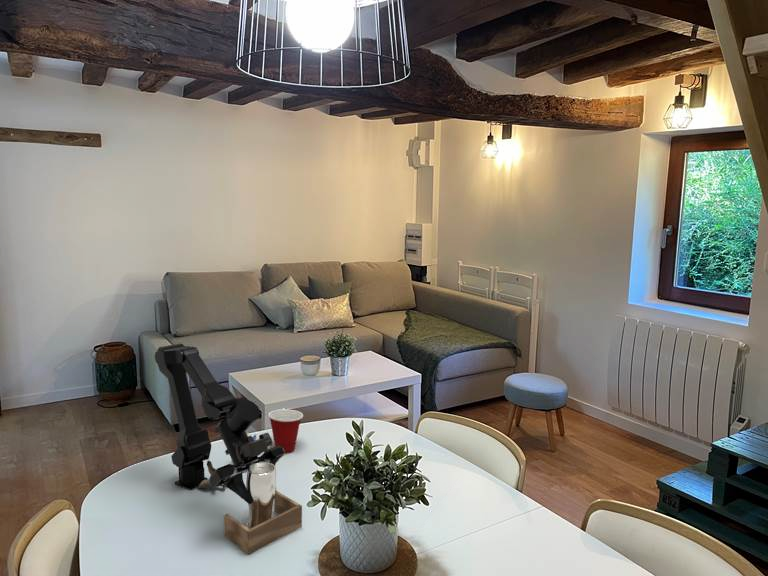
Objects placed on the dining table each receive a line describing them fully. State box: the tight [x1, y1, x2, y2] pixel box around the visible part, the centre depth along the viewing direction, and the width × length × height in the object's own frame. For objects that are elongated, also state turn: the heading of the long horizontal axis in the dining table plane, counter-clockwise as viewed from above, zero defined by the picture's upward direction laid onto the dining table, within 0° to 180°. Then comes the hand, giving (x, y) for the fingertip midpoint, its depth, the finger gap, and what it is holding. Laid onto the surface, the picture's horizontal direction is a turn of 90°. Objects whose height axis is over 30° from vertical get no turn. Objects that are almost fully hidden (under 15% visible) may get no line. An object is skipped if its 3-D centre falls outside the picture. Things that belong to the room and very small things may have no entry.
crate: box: [223, 490, 303, 555], centre depth 139 cm, size 10×15×6 cm, turn 138°
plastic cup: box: [267, 408, 304, 454], centre depth 182 cm, size 11×11×12 cm
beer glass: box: [245, 462, 277, 529], centre depth 138 cm, size 7×7×15 cm
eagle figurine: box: [196, 460, 226, 492], centre depth 158 cm, size 8×7×9 cm
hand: (263, 498), depth 138 cm, fingers closed on beer glass, 7 cm apart
